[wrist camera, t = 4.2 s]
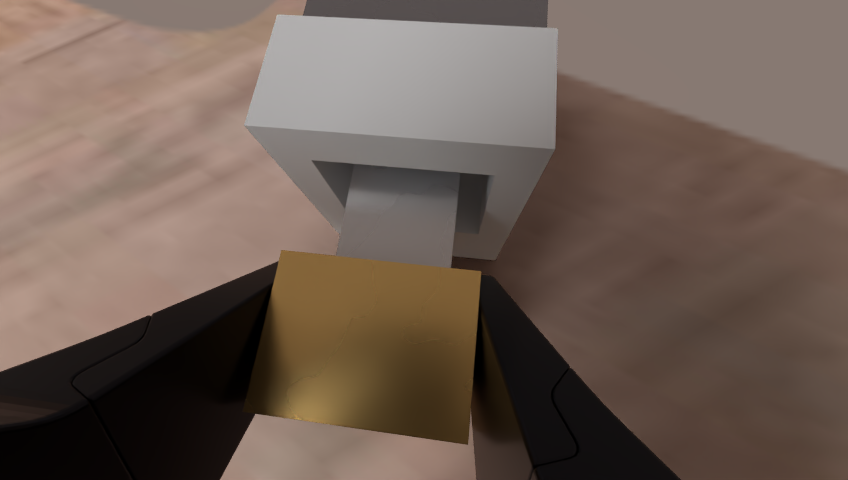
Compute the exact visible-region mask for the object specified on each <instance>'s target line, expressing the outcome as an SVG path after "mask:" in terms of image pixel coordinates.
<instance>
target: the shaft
mask: <svg viewBox="0 0 848 480" xmlns="http://www.w3.org/2000/svg"><path fill="white" fill-rule="evenodd" d="M460 177H461V173H459V172H447V171H435V170H424V169H412V168H400V167H388V166H376V165H364V164H354V166H353V172H352V177H351V182H350V187H349V192H348V197H347V202H346V208H345V213H344V218H343V223H342V228H341V233H340V238H339V243H338V249H337V254H336V256H332V255H323V254H313V253H304V252H294V251H285V250H281V254H280V258H279V263H278V267H277V271H276V275H275V279H274V283H273V288H272V292H271V296H270V300H269V304H268V308H267V313H266V317H265V321H264V325H263V329H262V333H261V338H260V342H259V346H258V350H257V354H256V358H255V363H254V367H253V371H252V375H251V379H250V383H249V388H248V392H247V396H246V400H245V404H244V408H243V412H248V413H255V414H261V415H268V416H275V417H282V418H289V419H296V420H303V421H309V422H316V423H323V424H330V425H337V426H344V427H351V428H357V429H364V430H371V431H378V432H385V433H392V434H399V435H405V436H412V437H419V438H426V439H433V440H440V441H447V442H453V443H460V444H467V445H468V437H469V424H470V411H471V398H472V385H473V372H474V359H475V347H476V334H477V321H478V308H479V295H480V282H481V271H474V270H465V269H455V268H451V266H452V256H453V246H454V236H455V226H456V216H457V206H458V197H459V187H460Z"/></svg>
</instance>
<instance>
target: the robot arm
mask: <svg viewBox="0 0 848 480" xmlns="http://www.w3.org/2000/svg"><path fill="white" fill-rule="evenodd" d="M278 263H279V261H278V262H275V263H273V264H271V265H268V266H266V267H264V268H261V269H259V270H256V271H254V272H252V273H249V274H247V275H244V276H242V277H240V278H237V279H235V280H232V281H230V282H228V283H225V284H223V285H220V286H218V287H216V288H213V289H211V290H208V291H206V292H204V293H201V294H199V295H196V296H194V297H192V298H189V299H187V300H184V301H182V302H180V303H177V304H175V305H172V306H170V307H168V308H165V309H163V310H161V311H158V312H156V313H153V314H152V316H146V317H143V318H141V319H139V320H136V321H134V322H132V323H129V324H127V325H124V326H122V327H119V328H117V329H114V330H112V331H109V332H107V333H104V334H102V335H99V336H97V337H94V338H91V339H89V340H86V341H83V342H81V343H78V344H75V345H73V346H70V347H67V348H65V349H62V350H59V351H56V352H54V353H51V354H48V355H45V356H42V357H40V358H37V359H34V360H31V361H29V362H26V363H23V364H20V365H18V366H15V367H12V368H9V369H7V370H4V371H1V372H0V480H220V478H221V477H222V475H223V473H224V471H225V469H226V467H227V465H228V464H229V462H230V460H231V458H232V456H233V454H234V452H235V451H236V449H237V447H238V445H239V443H240V441H241V439H242V438H243V436H244V434H245V432H246V430H247V428H248V427H249V425H250V423H251V421H252V419H253V417H254V415H255V413H248V412H243V408H244V404H245V400H246V396H247V392H248V388H249V383H250V379H251V375H252V371H253V367H254V363H255V358H256V354H257V350H258V346H259V342H260V338H261V333H262V329H263V325H264V321H265V317H266V313H267V308H268V304H269V300H270V296H271V292H272V288H273V283H274V279H275V275H276V271H277V267H278ZM471 415H472V428H473V441H474V454H475V466H476V479H477V480H681V479H680V478H679V477H678V476H677V475H676V474H675V473H674V472H673V471H671V470H670V469H669V468H668V467H667V466H666V465H665V464H664V463H663V462H662V461H661V460H660V459H659V458H658V457H657V456H656V455H655V454H654V453H653V452H652V451H651V450H650V449H649V448H648V447H647V446H646V445H645V444H644V443H643V442H642V441H641V440H639V439H638V438H637V437H636V436H635V435H634V434H633V433H632V432H631V431H630V430H629V429H628V428H627V427H626V426H625V425H624V424H623V423H622V422H621V421H620V420H619V419H618V418H617V417H616V416H615V415H614V414H613V413H612V412H611V411H610V410H609V409H608V408H607V407H606V406H605V405H604V404H603V403H602V402H601V401H600V399H599V398H598V397H597V396H596V395H595V394H594V393H593V392H592V391H591V390H590V388H589V387H588V386H587V385H586V384H585V383H584V382H583V381H582V379H581V378H580V377H579V376H578V375H577V374H576V372H575V371H574V370H573V369H572V368H570V366H569V365H568V363H567V362H566V361H565V360H564V359H563V358H562V356H561V355H560V354H559V353H558V352H557V351H556V349H555V348H554V347H553V346H552V345H551V344H550V342H549V341H548V340H547V339H546V338H545V337H544V335H543V334H542V333H541V332H540V331H539V330H538V328H537V327H536V326H535V325H534V324H533V323H532V321H531V320H530V319H529V318H528V317H527V316H526V314H525V313H524V312H523V311H522V310H521V309H520V307H519V306H518V305H517V304H516V303H515V302H514V300H513V299H512V298H511V297H510V296H509V295H508V293H507V292H506V291H505V290H504V289H503V288H502V286H501V285H500V284H499V283H498V282H497V281H496V279H495V278H494V277H492V276H486V275H481V282H480V295H479V308H478V321H477V334H476V347H475V359H474V372H473V385H472V398H471Z"/></svg>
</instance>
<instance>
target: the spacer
mask: <svg viewBox="0 0 848 480" xmlns="http://www.w3.org/2000/svg"><path fill="white" fill-rule="evenodd" d="M547 9H548V0H307V3H306V6H305V10H304V14H303V16H317V17H338V18H358V19H378V20H398V21H419V22H439V23H459V24H480V25H500V26H520V27H541V28H547V11H548V10H547Z"/></svg>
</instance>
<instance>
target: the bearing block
mask: <svg viewBox="0 0 848 480" xmlns="http://www.w3.org/2000/svg"><path fill="white" fill-rule="evenodd" d="M557 41H558V28H541V27H520V26H500V25H480V24H459V23H439V22H419V21H398V20H378V19H358V18H338V17H317V16H297V15H277V18H276V21H275V24H274V28H273V31H272V34H271V38H270V41H269V44H268V48H267V51H266V54H265V58H264V61H263V64H262V68H261V71H260V74H259V78H258V81H257V84H256V88H255V91H254V94H253V97H252V101H251V104H250V107H249V111H248V114H247V117H246V121H245V124H244V126H245V127H246V128H247V129H248V130H249V131H250V133H251V134H252V135H253V136H254V137H255V138H256V139H257V141H258V142H259V143H260V144H261V145H262V146H263V147H264V149H265V150H266V151H267V152H268V153H269V154H270V155H271V157H272V158H273V159H274V160H275V161H276V162H277V164H278V165H279V166H280V167H281V168H282V169H283V170H284V172H285V173H286V174H287V175H288V176H289V177H290V178H291V180H292V181H293V182H294V183H295V184H296V185H297V186H298V188H299V189H300V190H301V191H302V192H303V193H304V194H305V196H306V197H307V198H308V199H309V200H310V201H311V202H312V204H313V205H314V206H315V207H316V208H317V209H318V210H319V212H320V213H321V214H322V215H323V216H324V217H325V218H326V220H327V221H328V222H329V223H330V224H331V225H332V226H333V228H334V229H335V230H336V231H337V232H338V233H339V234H340V233H341V228H342V223H343V218H344V213H345V208H346V202H347V197H348V192H349V187H350V182H351V177H352V172H353V166H354V164H364V165H376V166H388V167H400V168H412V169H424V170H435V171H447V172H459V173H461V177H460V187H459V197H458V206H457V216H456V226H455V236H454V246H453V256H456V257H466V258H475V259H485V260H496V258H497V256H498V254H499V253H500V251H501V249H502V247H503V245H504V243H505V241H506V240H507V238H508V236H509V234H510V232H511V230H512V229H513V227H514V225H515V223H516V221H517V219H518V217H519V216H520V214H521V212H522V210H523V208H524V206H525V204H526V203H527V201H528V199H529V197H530V195H531V193H532V191H533V190H534V188H535V186H536V184H537V182H538V180H539V178H540V177H541V175H542V173H543V171H544V169H545V167H546V166H547V164H548V162H549V160H550V158H551V156H552V154H553V153H554V151H555V142H556V93H557V43H558V42H557Z"/></svg>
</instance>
